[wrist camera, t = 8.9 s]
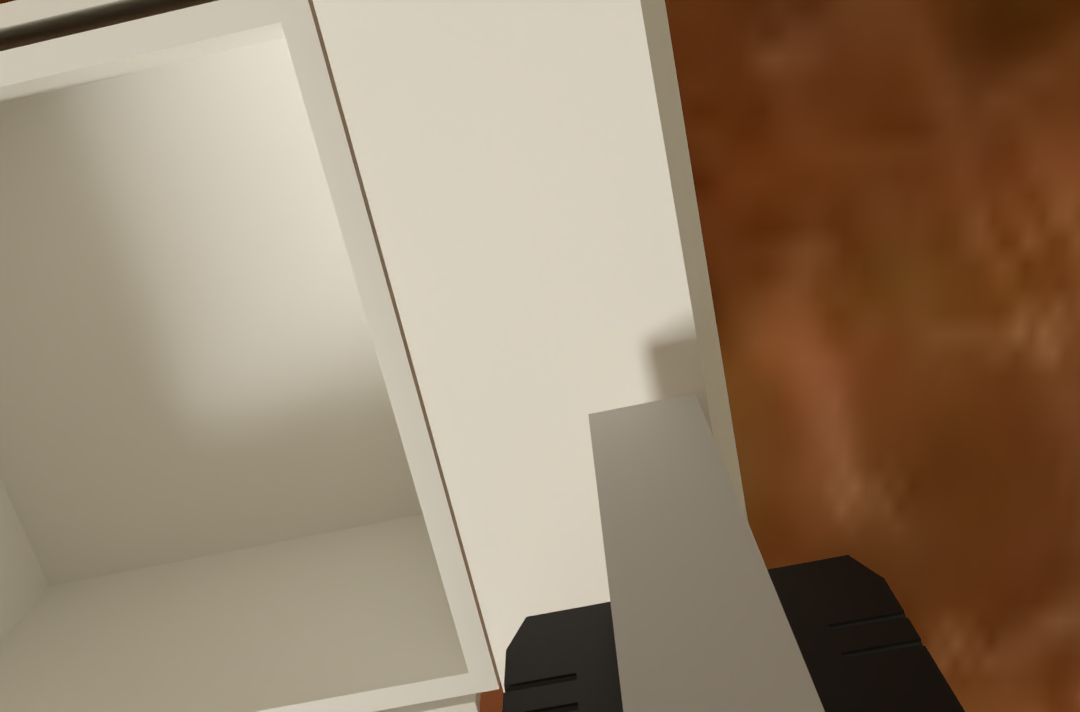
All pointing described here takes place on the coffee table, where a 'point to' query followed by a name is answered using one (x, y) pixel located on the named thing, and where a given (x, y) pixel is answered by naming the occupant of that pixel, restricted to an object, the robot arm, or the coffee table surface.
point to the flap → (531, 259)
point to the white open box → (208, 383)
